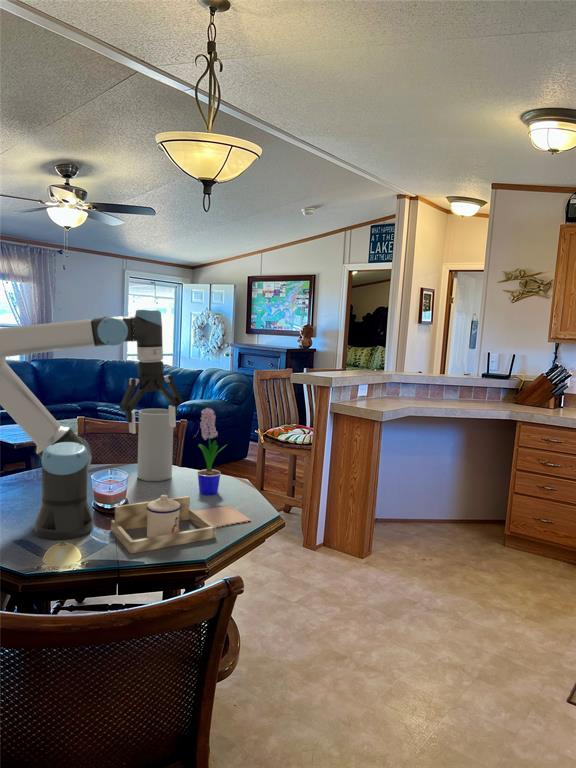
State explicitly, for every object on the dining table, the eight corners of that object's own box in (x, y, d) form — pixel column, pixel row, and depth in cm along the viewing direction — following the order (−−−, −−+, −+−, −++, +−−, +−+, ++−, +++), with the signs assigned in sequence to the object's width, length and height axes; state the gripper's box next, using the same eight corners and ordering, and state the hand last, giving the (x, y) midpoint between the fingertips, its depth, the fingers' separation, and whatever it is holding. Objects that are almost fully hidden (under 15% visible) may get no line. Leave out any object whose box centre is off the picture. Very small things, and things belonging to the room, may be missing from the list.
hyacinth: (223, 497, 190) (227, 410, 186) (193, 495, 190) (196, 408, 187) (226, 489, 199) (230, 406, 195) (198, 488, 199) (201, 404, 195)
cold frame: (130, 553, 142) (131, 527, 141) (111, 530, 156) (111, 506, 155) (215, 537, 155) (216, 513, 155) (190, 517, 169) (191, 495, 169)
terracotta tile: (208, 529, 161) (208, 527, 161) (189, 513, 173) (189, 511, 173) (250, 521, 169) (250, 519, 169) (229, 507, 181) (229, 505, 180)
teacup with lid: (178, 542, 151) (180, 501, 149) (144, 543, 149) (145, 500, 148) (180, 526, 162) (182, 487, 161) (148, 526, 161) (149, 487, 160)
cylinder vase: (143, 483, 200) (145, 415, 197) (132, 474, 211) (134, 409, 208) (176, 480, 207) (178, 413, 204) (164, 471, 217) (166, 408, 215)
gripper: (116, 364, 158) (120, 437, 161) (192, 359, 174) (194, 425, 177) (105, 362, 163) (109, 433, 166) (179, 357, 180) (181, 422, 183)
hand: (153, 429), depth 172 cm, fingers open, 13 cm apart
